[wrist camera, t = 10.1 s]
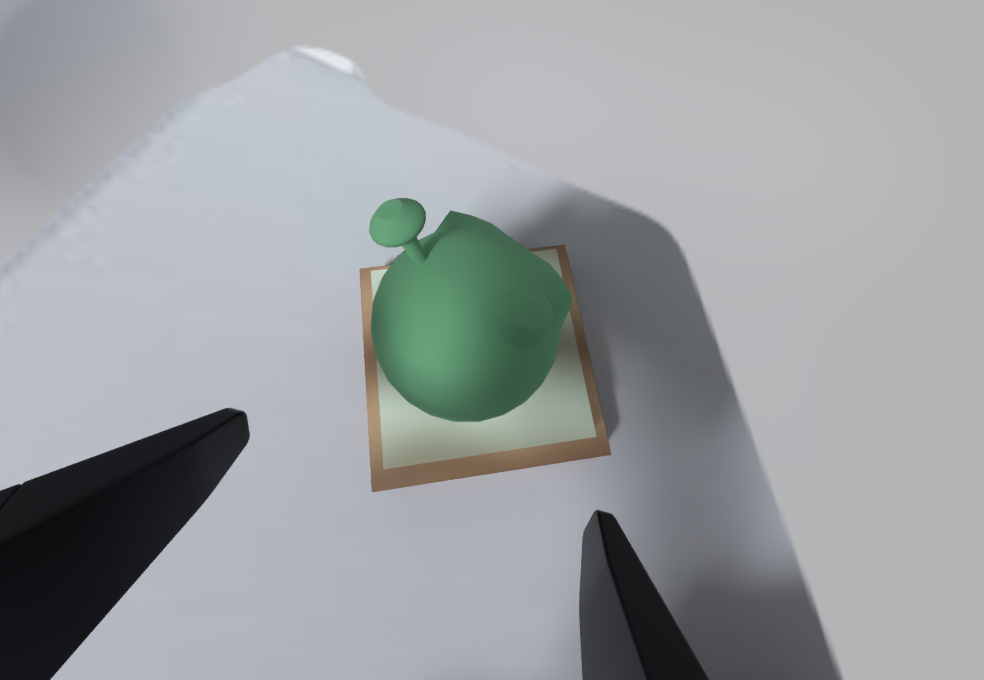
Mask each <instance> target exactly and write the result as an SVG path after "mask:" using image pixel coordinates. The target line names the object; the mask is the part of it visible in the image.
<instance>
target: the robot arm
mask: <svg viewBox="0 0 984 680" xmlns="http://www.w3.org/2000/svg"><path fill="white" fill-rule="evenodd" d="M249 437H250V433H249V426H248V420H247V415H246V413H245V412H244V411H241V410H237V409H233V408H225V409H222V410H220V411H217V412H214V413H211V414H209V415H206V416H203V417H201V418H198V419H195V420H192V421H190V422H187V423H184V424H181V425H179V426H176V427H173V428H171V429H168V430H165V431H162V432H160V433H157V434H154V435H151V436H149V437H146V438H143V439H141V440H138V441H135V442H132V443H130V444H127V445H124V446H121V447H119V448H116V449H113V450H111V451H108V452H105V453H102V454H100V455H97V456H94V457H91V458H89V459H86V460H83V461H81V462H78V463H75V464H72V465H70V466H67V467H64V468H61V469H59V470H56V471H53V472H50V473H48V474H45V475H42V476H40V477H37V478H34V479H31V480H29V481H26V482H24V483H23V484H22V485H21V484H18V485H15V486H12V487H9V488H7V489H4V490H1V491H0V680H50V679H51V678H52V677H53V676H54V675H55V674H56V672H57V671H58V670H59V669H60V668H61V667H62V666H63V664H64V663H65V662H66V661H67V660H68V659H69V657H70V656H71V655H72V654H73V653H74V652H75V651H76V649H77V648H78V647H79V646H80V645H81V644H82V643H83V641H84V640H85V639H86V638H87V637H88V636H89V634H90V633H91V632H92V631H93V630H94V629H95V628H96V626H97V625H98V624H99V623H100V622H101V621H102V620H103V618H104V617H105V616H106V615H107V614H108V613H109V611H110V610H111V609H112V608H113V607H114V606H115V605H116V603H117V602H118V601H119V600H120V599H121V598H122V597H123V595H124V594H125V593H126V592H127V591H128V590H129V588H130V587H131V586H132V585H133V584H134V583H135V582H136V580H137V579H138V578H139V577H140V576H141V575H142V574H143V572H144V571H145V570H146V569H147V568H148V567H149V565H150V564H151V563H152V562H153V561H154V560H155V559H156V557H157V556H158V555H159V554H160V553H161V552H162V551H163V549H164V548H165V547H166V546H167V545H168V544H169V542H170V541H171V540H172V539H173V538H174V537H175V536H176V534H177V533H178V532H179V531H180V530H181V529H182V528H183V526H184V525H185V524H186V523H187V522H188V521H189V519H190V518H191V517H192V516H193V515H194V514H195V513H196V511H197V510H198V509H199V508H200V507H201V506H202V504H203V503H204V502H205V501H206V500H207V498H208V497H209V496H210V494H211V493H212V492H213V491H214V489H215V488H216V486H217V485H218V484H219V482H220V481H221V479H222V478H223V477H224V475H225V474H226V472H227V471H228V470H229V468H230V467H231V466H232V464H233V463H234V461H235V460H236V459H237V457H238V456H239V454H240V453H241V452H242V450H243V449H244V447H245V446H246V445H247V443H248V440H249ZM579 618H580V638H581V658H582V677H583V680H709V678H708V677H707V675H706V673H705V671H704V670H703V668H702V666H701V665H700V663H699V661H698V659H697V658H696V656H695V654H694V652H693V651H692V649H691V647H690V646H689V644H688V642H687V640H686V639H685V637H684V635H683V634H682V632H681V630H680V628H679V627H678V625H677V623H676V622H675V620H674V618H673V616H672V615H671V613H670V611H669V609H668V608H667V606H666V604H665V603H664V601H663V599H662V597H661V596H660V594H659V592H658V591H657V589H656V587H655V585H654V584H653V582H652V580H651V579H650V577H649V575H648V573H647V572H646V570H645V568H644V567H643V565H642V563H641V561H640V560H639V558H638V556H637V554H636V553H635V551H634V549H633V548H632V546H631V544H630V542H629V541H628V539H627V537H626V536H625V534H624V532H623V530H622V529H621V527H620V525H619V524H618V522H617V520H616V518H615V517H614V516H613V515H612V514H610V513H607V512H604V511H600V510H596V511H595V512H594V513H593V515H592V517H591V519H590V520H589V522H588V524H587V526H586V528H585V530H584V533H583V540H582V559H581V578H580V598H579Z"/></svg>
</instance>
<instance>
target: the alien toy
mask: <svg viewBox="0 0 984 680" xmlns="http://www.w3.org/2000/svg"><path fill="white" fill-rule="evenodd" d="M425 220H426V212H425V210H424V208H423V206H422V205H421V204H420V203H418V202H417V201H415V200H412V199H408V198H397V199H392V200H388V201H386V202H384V203H383V204H382V205H380V207H379V208H378V209H377V210H376V212H375V213H374V215H373V217H372V219H371V221H370V229H369V232H370V235H371V237H372V239H373V240H374V241H375V242H376V243H377V244H379V245H382V246H385V247H398V246H403V248H404V249H405V251H403V252H402V253H401V254H400V255H398V256H397V258H396V259H395V260H394V262H393V263H392V264H391V266H390V267H389V269H388V270H387V271H386V273H385V274H384V275H383V277H382V279H381V282H380V284H379V287H378V289H377V292H376V295H375V297H374V300H373V306H372V316H371V335H372V340H373V345H374V350H375V356H376V358H377V360H378V362H379V364H380V366H381V368H382V370H383V372H384V374H385V376H386V378H387V380H388V382H389V383H390V384H391V385H392V386H393V387H394V388H395V389H396V390H397V391H398V392H399V393H400V394H401V396H402V397H403V398H404V399H405V400H406V401H407V402H409V403H410V404H412V405H414V406H415V407H417V408H419V409H420V410H422V411H423V412H425V413H427V414H428V415H431V416H435V417H438V418H442V419H445V420H449V421H453V422H480V421H484V420H488V419H491V418H495V417H499V416H502V415H504V414H506V413H508V412H510V411H511V410H513V409H515V408H516V407H518V406H520V405H521V404H523V403H525V402H526V401H527V400H528V399H529V398H530V397H531V396H532V394H533V393H534V392H535V391H536V390H537V389H538V388H539V387H540V386H541V385H542V384H543V382H544V380H545V378H546V377H547V375H548V373H549V371H550V369H551V367H552V366H553V364H554V362H555V359H556V354H557V350H558V345H559V341H560V336H561V327H562V325H563V322H564V320H565V318H566V316H567V314H568V312H569V310H570V308H571V305H572V295H571V293H570V291H569V289H568V288H567V286H566V284H565V282H564V281H563V279H562V278H561V276H560V275H559V274H558V273H557V272H556V271H555V269H554V268H553V267H552V266H551V265H550V264H549V263H548V262H546V261H545V260H543V259H542V258H540V257H538V256H537V255H535V254H534V253H532V252H531V251H529V250H527V249H526V248H524V247H523V246H521V245H520V244H518V243H517V242H515V241H514V240H513V239H511V238H510V237H509V236H507V235H506V234H505V233H503V232H502V231H501V230H500V229H498V228H497V227H496V226H494V225H493V224H491V223H489V222H486V221H484V220H481V219H479V218H476V217H474V216H471V215H467V214H463V213H459V212H454V211H450V212H449V213H448V215H447V216H446V217H445V219H444V220H443V222H442V223H441V224H440V226H439V227H438V229H437V230H436V231H435V233H433V234H431V235H428V236H426V237H424V238H422V239H420V240H418V239H417V236H418V234H419V233H420V232H421V230H422V229H423V227H424V224H425Z"/></svg>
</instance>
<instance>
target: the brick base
mask: <svg viewBox="0 0 984 680" xmlns="http://www.w3.org/2000/svg"><path fill="white" fill-rule="evenodd" d="M527 250H529V251H531V252H532V253H534V254H535V255H537V256H538V257H540V258H542V259H543V260H545V261H546V262H548V263H549V264H550V265H551V266H552V267H553V268H554V269H555V271H556V272H557V273H558V274H559V275H560V276H561V278H562V279H563V281H564V282H565V284H566V286H567V288H568V289H569V291H570V293H571V295H572V305H571V308H570V310H569V312H568V314H567V316H566V318H565V320H564V322H563V325H562V327H561V336H560V341H559V345H558V350H557V354H556V359H555V362H554V364H553V366H552V367H551V369H550V371H549V373H548V375H547V377H546V378H545V380H544V382H543V384H542V385H541V386H540V387H539V388H538V389H537V390H536V391H535V392H534V393H533V394H532V396H531V397H530V398H529V399H528V400H527V401H526V402H525V403H523V404H521V405H520V406H518V407H516V408H515V409H513V410H511V411H510V412H508V413H506V414H504V415H502V416H499V417H495V418H491V419H488V420H484V421H480V422H453V421H449V420H445V419H442V418H438V417H435V416H431V415H428V414H427V413H425V412H423V411H422V410H420V409H419V408H417V407H415V406H414V405H412V404H410V403H409V402H407V401H406V400H405V399H404V398H403V397H402V396H401V394H400V393H399V392H398V391H397V390H396V389H395V388H394V387H393V386H392V385H391V384H390V383H389V382H388V380H387V378H386V376H385V374H384V372H383V370H382V368H381V366H380V364H379V362H378V360H377V358H376V356H375V350H374V345H373V340H372V335H371V316H372V306H373V300H374V297H375V295H376V292H377V289H378V287H379V284H380V282H381V279H382V277H383V275H384V274H385V273H386V271H387V270H388V269H389V267H390V266H391V265H388V266H380V267H371V268H363V269H360V286H361V304H362V322H363V340H364V359H365V377H366V395H367V413H368V431H369V449H370V467H371V485H372V492H376V491H383V490H389V489H395V488H402V487H408V486H415V485H421V484H427V483H434V482H440V481H446V480H453V479H459V478H466V477H472V476H478V475H485V474H491V473H498V472H504V471H510V470H517V469H523V468H530V467H536V466H542V465H549V464H555V463H561V462H568V461H574V460H581V459H587V458H593V457H600V456H606V455H611V451H610V447H609V442H608V438H607V433H606V429H605V424H604V420H603V415H602V411H601V406H600V402H599V397H598V393H597V388H596V384H595V379H594V374H593V370H592V365H591V361H590V356H589V352H588V347H587V343H586V338H585V334H584V329H583V325H582V320H581V316H580V311H579V307H578V302H577V298H576V293H575V289H574V284H573V279H572V275H571V270H570V266H569V261H568V257H567V252H566V248H565V245H560V246H551V247H542V248H534V249H527Z"/></svg>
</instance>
